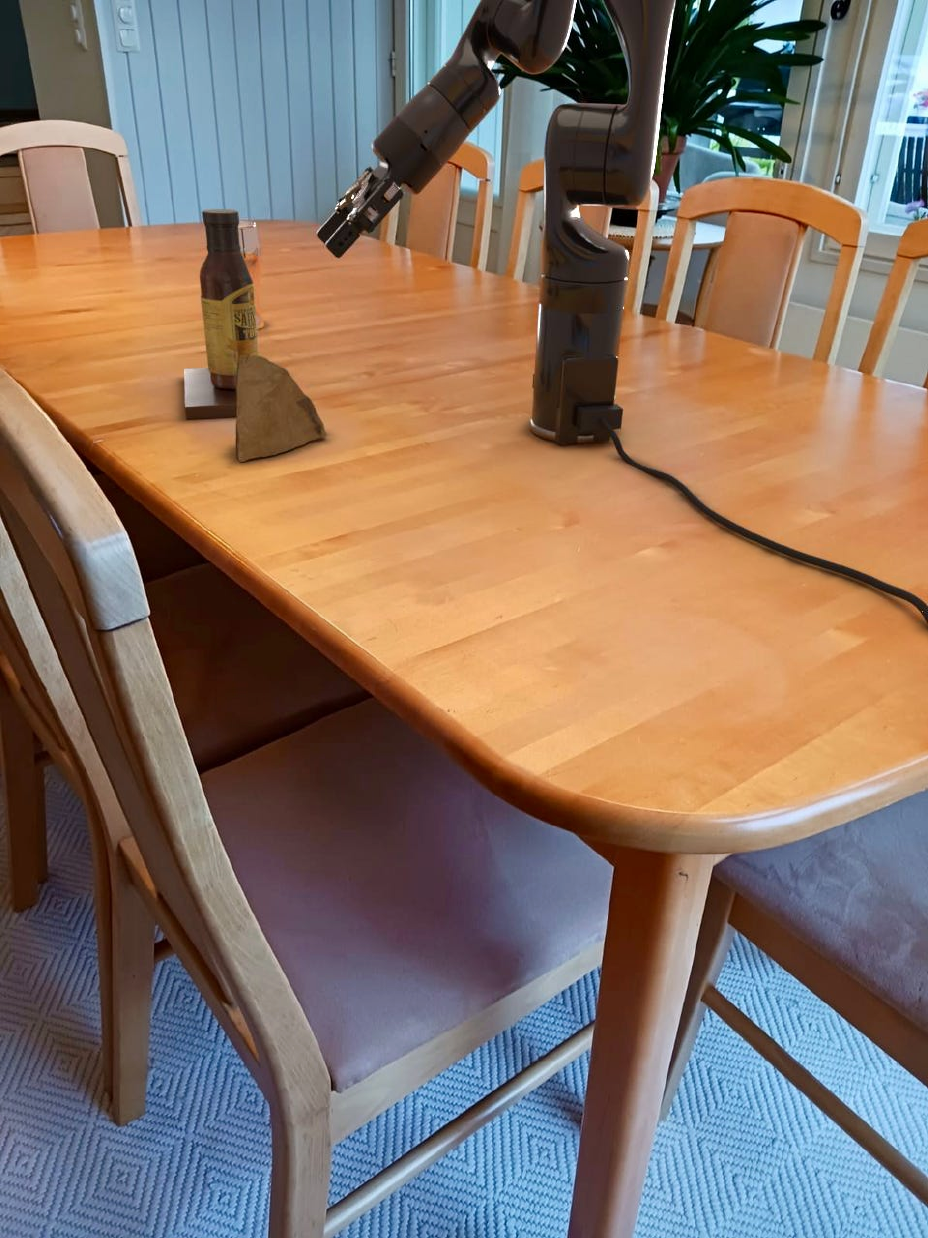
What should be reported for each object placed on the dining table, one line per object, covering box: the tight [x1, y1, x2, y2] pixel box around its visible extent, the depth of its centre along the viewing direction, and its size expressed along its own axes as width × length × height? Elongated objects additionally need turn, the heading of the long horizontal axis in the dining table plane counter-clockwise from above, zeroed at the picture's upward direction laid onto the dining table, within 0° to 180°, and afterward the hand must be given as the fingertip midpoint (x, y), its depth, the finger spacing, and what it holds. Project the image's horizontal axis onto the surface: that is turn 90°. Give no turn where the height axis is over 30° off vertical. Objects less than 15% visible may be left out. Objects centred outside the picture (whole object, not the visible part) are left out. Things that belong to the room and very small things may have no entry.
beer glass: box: [238, 220, 265, 330], centre depth 144 cm, size 7×7×15 cm
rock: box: [235, 355, 327, 463], centre depth 100 cm, size 11×9×10 cm
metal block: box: [183, 367, 237, 420], centre depth 117 cm, size 16×12×2 cm
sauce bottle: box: [199, 208, 260, 389], centre depth 111 cm, size 7×6×20 cm
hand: (326, 246), depth 111 cm, fingers open, 8 cm apart
